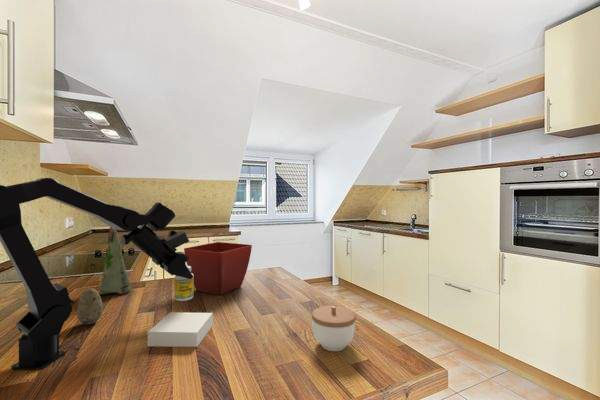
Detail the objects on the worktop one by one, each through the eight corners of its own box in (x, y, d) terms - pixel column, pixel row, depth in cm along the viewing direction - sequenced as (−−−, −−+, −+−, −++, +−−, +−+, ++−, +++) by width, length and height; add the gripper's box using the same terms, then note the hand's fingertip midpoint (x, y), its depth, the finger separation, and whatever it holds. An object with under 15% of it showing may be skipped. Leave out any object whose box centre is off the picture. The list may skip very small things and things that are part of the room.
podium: (197, 346, 70) (197, 332, 70) (147, 346, 70) (147, 331, 70) (212, 325, 82) (212, 312, 82) (170, 324, 82) (170, 312, 82)
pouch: (116, 298, 103) (116, 228, 103) (87, 296, 105) (87, 227, 105) (138, 288, 114) (138, 225, 114) (111, 287, 116) (112, 224, 116)
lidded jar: (320, 359, 65) (320, 317, 65) (306, 337, 75) (306, 301, 75) (363, 353, 68) (363, 313, 68) (343, 332, 78) (344, 297, 78)
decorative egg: (72, 329, 79) (72, 292, 79) (82, 320, 84) (82, 286, 84) (97, 327, 80) (98, 290, 80) (105, 318, 86) (106, 284, 86)
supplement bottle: (191, 294, 93) (191, 264, 93) (195, 299, 88) (195, 267, 88) (173, 297, 90) (173, 266, 90) (176, 302, 85) (176, 269, 85)
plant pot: (182, 291, 111) (182, 247, 111) (217, 279, 128) (218, 241, 128) (219, 300, 102) (220, 252, 102) (252, 286, 119) (253, 245, 119)
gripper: (181, 224, 79) (219, 260, 86) (163, 220, 94) (196, 251, 101) (149, 256, 74) (192, 291, 81) (135, 247, 89) (172, 277, 96)
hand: (188, 275), depth 90 cm, fingers closed on supplement bottle, 5 cm apart
